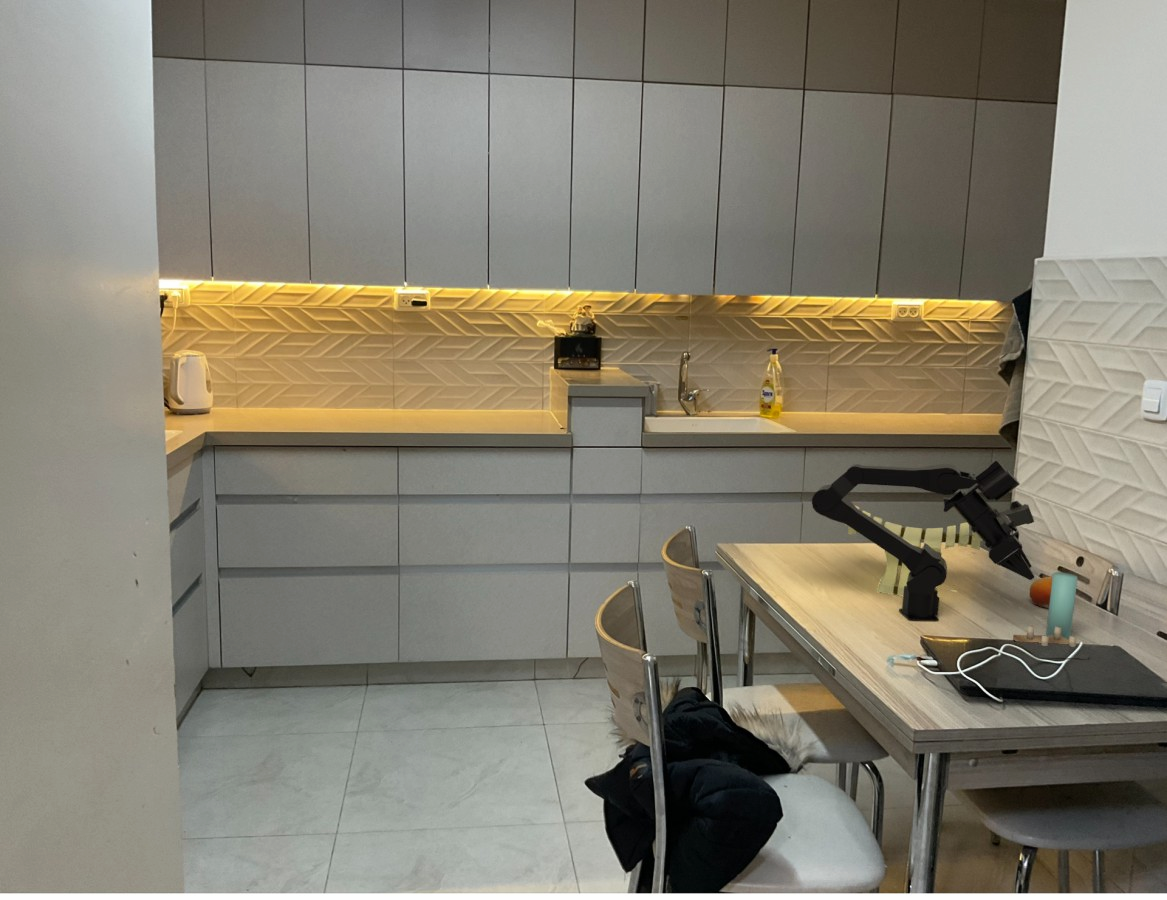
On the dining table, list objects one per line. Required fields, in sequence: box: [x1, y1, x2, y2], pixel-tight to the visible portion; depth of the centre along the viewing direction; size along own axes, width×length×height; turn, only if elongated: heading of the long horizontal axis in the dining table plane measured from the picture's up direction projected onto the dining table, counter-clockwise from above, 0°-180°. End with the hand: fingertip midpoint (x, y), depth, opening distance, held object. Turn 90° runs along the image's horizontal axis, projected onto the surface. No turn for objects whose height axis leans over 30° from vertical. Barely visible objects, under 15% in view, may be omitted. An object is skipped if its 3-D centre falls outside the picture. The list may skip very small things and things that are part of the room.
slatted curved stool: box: [843, 504, 983, 596], centre depth 230 cm, size 30×16×18 cm, turn 69°
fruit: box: [1029, 576, 1053, 609], centre depth 220 cm, size 8×8×8 cm
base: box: [1012, 625, 1077, 647], centre depth 192 cm, size 10×10×4 cm
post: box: [1045, 572, 1078, 640], centre depth 199 cm, size 4×4×13 cm
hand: (1031, 573), depth 200 cm, fingers open, 9 cm apart
